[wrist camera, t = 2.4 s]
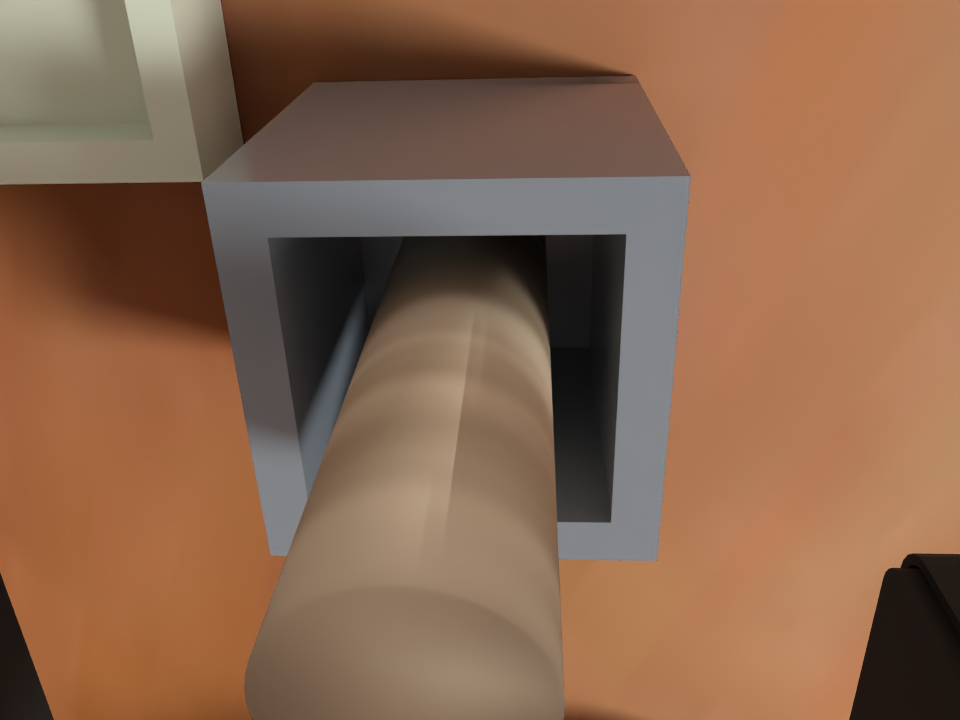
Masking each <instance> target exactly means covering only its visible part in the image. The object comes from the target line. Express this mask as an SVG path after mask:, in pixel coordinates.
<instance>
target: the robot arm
mask: <svg viewBox="0 0 960 720" xmlns="http://www.w3.org/2000/svg"><path fill="white" fill-rule="evenodd" d="M0 720H54V719H53V716H52V713H51V711H50V708H49V705H48V702H47V700H46V697H45V694H44V692H43V689H42V686H41V683H40V681H39V678H38V675H37V672H36V670H35V667H34V664H33V661H32V659H31V656H30V653H29V650H28V648H27V645H26V642H25V640H24V637H23V634H22V631H21V629H20V626H19V623H18V620H17V618H16V615H15V612H14V609H13V607H12V604H11V601H10V598H9V596H8V593H7V590H6V588H5V585H4V582H3V579H2V577H1V574H0ZM849 720H960V554H909V555H907V557H906V558H905V559H904V560H903V563H902V565H901V568H890V569H888V570H887V571H886V573H885V575H884V578H883V582H882V586H881V590H880V594H879V598H878V603H877V607H876V611H875V615H874V619H873V623H872V628H871V632H870V636H869V640H868V644H867V648H866V653H865V657H864V661H863V665H862V669H861V673H860V678H859V682H858V686H857V690H856V694H855V698H854V703H853V707H852V711H851V715H850V719H849Z"/></svg>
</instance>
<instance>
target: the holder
mask: <svg viewBox="0 0 960 720" xmlns="http://www.w3.org/2000/svg"><path fill="white" fill-rule="evenodd" d="M690 179H691V176H690V174H689V172H688V170H687V168H686V167H685V165H684V163H683V161H682V159H681V158H680V156H679V154H678V152H677V150H676V148H675V147H674V145H673V143H672V141H671V139H670V138H669V136H668V134H667V132H666V130H665V128H664V127H663V125H662V123H661V121H660V119H659V117H658V116H657V114H656V112H655V110H654V108H653V107H652V105H651V103H650V101H649V99H648V97H647V96H646V94H645V92H644V90H643V88H642V87H641V85H640V83H639V81H638V79H637V77H636V76H593V77H545V78H496V79H447V80H398V81H350V82H314V83H313V84H312V85H311V86H309V87H308V88H307V89H306V90H305V91H304V92H303V93H302V94H300V95H299V96H298V97H297V98H296V99H295V100H294V101H293V102H291V103H290V104H289V105H288V106H287V107H286V108H285V109H284V110H282V111H281V112H280V113H279V114H278V115H277V116H276V117H274V118H273V119H272V120H271V121H270V122H269V123H268V124H267V125H265V126H264V127H263V128H262V129H261V130H260V131H259V132H258V133H256V134H255V135H254V136H253V137H252V138H251V139H250V140H249V141H247V142H246V143H245V144H244V145H243V146H242V147H241V148H240V149H238V150H237V151H236V152H235V153H234V154H233V155H232V156H231V157H229V158H228V159H227V160H226V161H225V162H224V163H223V164H222V165H220V166H219V167H218V168H217V169H216V170H215V171H214V172H212V173H211V174H210V175H209V176H208V177H207V178H206V179H205V180H203V181H202V182H201V185H202V191H203V196H204V201H205V207H206V212H207V217H208V223H209V228H210V233H211V239H212V244H213V249H214V255H215V260H216V266H217V271H218V276H219V282H220V287H221V292H222V298H223V303H224V308H225V314H226V319H227V324H228V330H229V335H230V340H231V346H232V351H233V356H234V362H235V367H236V372H237V378H238V383H239V388H240V394H241V399H242V404H243V410H244V415H245V420H246V426H247V431H248V436H249V442H250V447H251V452H252V458H253V463H254V468H255V474H256V479H257V484H258V490H259V495H260V500H261V506H262V511H263V516H264V522H265V527H266V532H267V538H268V543H269V548H270V554H271V556H287V554H288V552H289V549H290V546H291V543H292V541H293V538H294V535H295V533H296V530H297V527H298V524H299V522H300V519H301V516H302V513H303V511H304V508H305V505H306V503H307V500H308V497H309V494H310V492H311V489H312V486H313V483H314V481H315V478H316V475H317V473H318V470H319V467H320V464H321V462H322V459H323V456H324V453H325V451H326V448H327V445H328V443H329V440H330V437H331V434H332V432H333V429H334V426H335V423H336V421H337V418H338V415H339V413H340V410H341V407H342V404H343V402H344V399H345V396H346V393H347V391H348V388H349V385H350V383H351V380H352V377H353V374H354V372H355V369H356V366H357V363H358V361H359V358H360V355H361V352H362V350H363V347H364V344H365V342H366V339H367V336H368V333H369V331H370V328H371V325H372V322H373V320H374V317H375V314H376V312H377V309H378V306H379V303H380V301H381V298H382V295H383V292H384V290H385V287H386V284H387V282H388V279H389V276H390V273H391V271H392V268H393V265H394V262H395V260H396V257H397V254H398V252H399V249H400V246H401V243H402V241H403V238H404V236H488V235H545V238H546V259H547V283H548V308H549V333H550V358H551V382H552V407H553V432H554V456H555V481H556V506H557V530H558V555H559V560H633V561H657V555H658V543H659V532H660V521H661V509H662V498H663V486H664V475H665V464H666V452H667V441H668V429H669V418H670V407H671V395H672V384H673V372H674V361H675V350H676V338H677V327H678V315H679V304H680V293H681V281H682V270H683V258H684V247H685V236H686V224H687V213H688V201H689V190H690Z"/></svg>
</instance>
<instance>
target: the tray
mask: <svg viewBox="0 0 960 720" xmlns="http://www.w3.org/2000/svg"><path fill="white" fill-rule="evenodd" d="M243 145H244V144H243V138H242V132H241V126H240V119H239V113H238V107H237V101H236V94H235V88H234V82H233V76H232V69H231V63H230V57H229V50H228V44H227V38H226V32H225V25H224V19H223V13H222V7H221V0H0V185H1V184H75V183H149V182H202V181H203V180H205V179H206V178H207V177H208V176H209V175H210V174H211V173H212V172H214V171H215V170H216V169H217V168H218V167H219V166H220V165H222V164H223V163H224V162H225V161H226V160H227V159H228V158H229V157H231V156H232V155H233V154H234V153H235V152H236V151H237V150H238V149H240V148H241V147H242V146H243Z"/></svg>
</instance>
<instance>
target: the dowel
mask: <svg viewBox="0 0 960 720" xmlns="http://www.w3.org/2000/svg"><path fill="white" fill-rule="evenodd" d="M245 695H246V703H247V706H248V709H249V712H250V715H251V718H252V720H564V712H565V703H564V679H563V654H562V629H561V605H560V580H559V555H558V530H557V506H556V481H555V456H554V432H553V407H552V382H551V358H550V333H549V308H548V283H547V259H546V238H545V235H488V236H404V238H403V241H402V243H401V246H400V249H399V252H398V254H397V257H396V260H395V262H394V265H393V268H392V271H391V273H390V276H389V279H388V282H387V284H386V287H385V290H384V292H383V295H382V298H381V301H380V303H379V306H378V309H377V312H376V314H375V317H374V320H373V322H372V325H371V328H370V331H369V333H368V336H367V339H366V342H365V344H364V347H363V350H362V352H361V355H360V358H359V361H358V363H357V366H356V369H355V372H354V374H353V377H352V380H351V383H350V385H349V388H348V391H347V393H346V396H345V399H344V402H343V404H342V407H341V410H340V413H339V415H338V418H337V421H336V423H335V426H334V429H333V432H332V434H331V437H330V440H329V443H328V445H327V448H326V451H325V453H324V456H323V459H322V462H321V464H320V467H319V470H318V473H317V475H316V478H315V481H314V483H313V486H312V489H311V492H310V494H309V497H308V500H307V503H306V505H305V508H304V511H303V513H302V516H301V519H300V522H299V524H298V527H297V530H296V533H295V535H294V538H293V541H292V543H291V546H290V549H289V552H288V554H287V557H286V560H285V563H284V565H283V568H282V571H281V573H280V576H279V579H278V582H277V584H276V587H275V590H274V593H273V595H272V598H271V601H270V603H269V606H268V609H267V612H266V614H265V617H264V620H263V623H262V625H261V628H260V631H259V633H258V636H257V639H256V642H255V644H254V647H253V650H252V653H251V655H250V658H249V661H248V665H247V669H246V673H245Z"/></svg>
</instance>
